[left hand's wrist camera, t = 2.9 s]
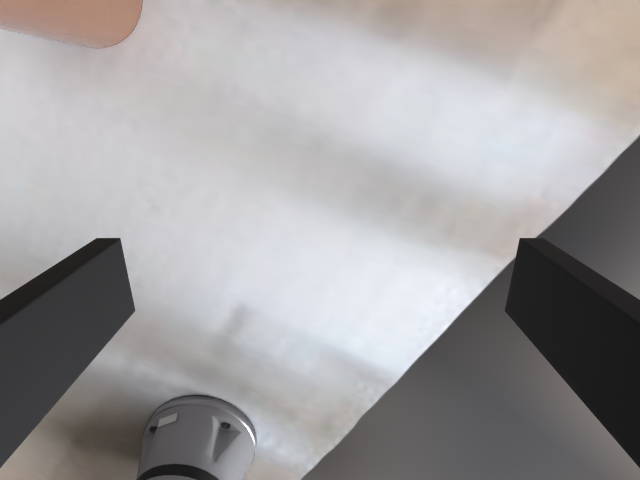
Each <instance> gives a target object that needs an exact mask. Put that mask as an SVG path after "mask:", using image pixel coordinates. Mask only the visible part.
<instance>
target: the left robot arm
mask: <svg viewBox="0 0 640 480" xmlns="http://www.w3.org/2000/svg"><path fill="white" fill-rule="evenodd" d="M134 312H135V307H134V303H133V298H132V293H131V288H130V283H129V279H128V274H127V269H126V264H125V259H124V254H123V250H122V245H121V240H120V238H96V239H95V240H93V241H92V242H90V243H89V244H87V245H85V246H84V247H82V248H81V249H79V250H78V251H76V252H74V253H73V254H71V255H70V256H68V257H67V258H65V259H64V260H62V261H60V262H59V263H57V264H56V265H54V266H53V267H51V268H49V269H48V270H46V271H45V272H43V273H42V274H40V275H39V276H37V277H35V278H34V279H32V280H31V281H29V282H28V283H26V284H24V285H23V286H21V287H20V288H18V289H17V290H15V291H14V292H12V293H10V294H9V295H7V296H6V297H4V298H3V299H1V300H0V468H1V466H2V465H3V464H4V463H5V462H6V461H7V459H8V458H9V457H10V456H11V455H12V454H13V453H14V451H15V450H16V449H17V448H18V447H19V446H20V444H21V443H22V442H23V441H24V440H25V439H26V437H27V436H28V435H29V434H30V433H31V432H32V430H33V429H34V428H35V427H36V426H37V425H38V423H39V422H40V421H41V420H42V419H43V418H44V416H45V415H46V414H47V413H48V412H49V411H50V409H51V408H52V407H53V406H54V405H55V404H56V402H57V401H58V400H59V399H60V398H61V397H62V395H63V394H64V393H65V392H66V391H67V390H68V388H69V387H70V386H71V385H72V384H73V383H74V381H75V380H76V379H77V378H78V377H79V376H80V374H81V373H82V372H83V371H84V370H85V369H86V367H87V366H88V365H89V364H90V363H91V362H92V360H93V359H94V358H95V357H96V356H97V355H98V353H99V352H100V351H101V350H102V349H103V348H104V346H105V345H106V344H107V343H108V342H109V341H110V340H111V338H112V337H113V336H114V335H115V334H116V333H117V331H118V330H119V329H120V328H121V327H122V326H123V324H124V323H125V322H126V321H127V320H128V319H129V317H130V316H131V315H132V314H133V313H134ZM505 312H506V313H507V314H508V315H509V316H510V317H511V319H512V320H513V321H514V322H515V323H516V324H517V326H518V327H519V328H520V329H521V330H522V331H523V333H524V334H525V335H526V336H527V337H528V338H529V340H530V341H531V342H532V343H533V344H534V345H535V346H536V348H537V349H538V350H539V351H540V352H541V353H542V355H543V356H544V357H545V358H546V359H547V360H548V362H549V363H550V364H551V365H552V366H553V367H554V369H555V370H556V371H557V372H558V373H559V374H560V376H561V377H562V378H563V379H564V380H565V381H566V383H567V384H568V385H569V386H570V387H571V388H572V390H573V391H574V392H575V393H576V394H577V395H578V397H579V398H580V399H581V400H582V401H583V402H584V404H585V405H586V406H587V407H588V408H589V409H590V410H591V412H592V413H593V414H594V415H595V416H596V418H597V419H598V420H599V421H600V422H601V423H602V425H603V426H604V427H605V428H606V429H607V430H608V432H609V433H610V434H611V435H612V436H613V437H614V438H615V440H616V441H617V442H618V443H619V444H620V445H621V447H622V448H623V449H624V450H625V451H626V452H627V454H628V455H629V456H630V457H631V458H632V459H633V461H634V462H635V463H636V464H637V465H638V466H639V468H640V300H639V299H637V298H636V297H634V296H633V295H631V294H630V293H628V292H626V291H625V290H623V289H622V288H620V287H619V286H617V285H616V284H614V283H612V282H611V281H609V280H608V279H606V278H605V277H603V276H601V275H600V274H598V273H597V272H595V271H594V270H592V269H591V268H589V267H587V266H586V265H584V264H583V263H581V262H580V261H578V260H576V259H575V258H573V257H572V256H570V255H569V254H567V253H565V252H564V251H562V250H561V249H559V248H558V247H556V246H555V245H553V244H551V243H550V242H548V241H547V240H545V239H544V238H520V240H519V245H518V250H517V254H516V259H515V264H514V269H513V274H512V279H511V284H510V288H509V293H508V298H507V303H506V308H505Z"/></svg>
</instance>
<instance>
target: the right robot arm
mask: <svg viewBox="0 0 640 480" xmlns="http://www.w3.org/2000/svg"><path fill="white" fill-rule="evenodd" d="M255 448H256V434H255V430H254V428H253V426H252V424H251V422H250V421H249V419H248V418H247V417H246V416H245V415H244V414H243V413H242V412H241V411H240V410H238V409H237V408H235V407H234V406H232V405H230V404H228V403H226V402H224V401H221V400H218V399H215V398H211V397H204V396H187V397H181V398H177V399H174V400H172V401H169V402H167V403H166V404H164V405H162V406H161V407H160V408H159V409H158V410H156V412H155V413H154V414H153V415H152V417H151V419H150V421H149V423H148V425H147V427H146V429H145V432H144V435H143V439H142V445H141V453H140V460H139V467H138V475H137V479H136V480H243V478H244V476H245V475H246V473H247V471H248V469H249V467H250V465H251V463H252V460H253V457H254V453H255Z"/></svg>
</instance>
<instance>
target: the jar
mask: <svg viewBox="0 0 640 480" xmlns="http://www.w3.org/2000/svg"><path fill="white" fill-rule="evenodd" d="M141 8H142V0H0V29H1V30H6V31H11V32H15V33H20V34H25V35H30V36H35V37H40V38H44V39H49V40H54V41H59V42H64V43H69V44H73V45H78V46H83V47H88V48H106V47H111V46H113V45H116V44H118V43H119V42H121V41H123V40H124V39H125V38H126V37H127V36H128V35H129V34H130V33H131V32H132V31H133V29H134V27H135V26H136V24H137V22H138V19H139V16H140V13H141Z"/></svg>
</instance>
